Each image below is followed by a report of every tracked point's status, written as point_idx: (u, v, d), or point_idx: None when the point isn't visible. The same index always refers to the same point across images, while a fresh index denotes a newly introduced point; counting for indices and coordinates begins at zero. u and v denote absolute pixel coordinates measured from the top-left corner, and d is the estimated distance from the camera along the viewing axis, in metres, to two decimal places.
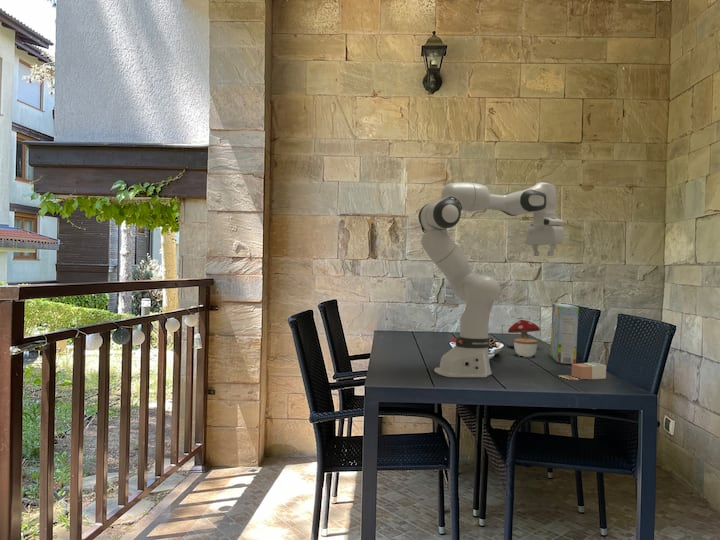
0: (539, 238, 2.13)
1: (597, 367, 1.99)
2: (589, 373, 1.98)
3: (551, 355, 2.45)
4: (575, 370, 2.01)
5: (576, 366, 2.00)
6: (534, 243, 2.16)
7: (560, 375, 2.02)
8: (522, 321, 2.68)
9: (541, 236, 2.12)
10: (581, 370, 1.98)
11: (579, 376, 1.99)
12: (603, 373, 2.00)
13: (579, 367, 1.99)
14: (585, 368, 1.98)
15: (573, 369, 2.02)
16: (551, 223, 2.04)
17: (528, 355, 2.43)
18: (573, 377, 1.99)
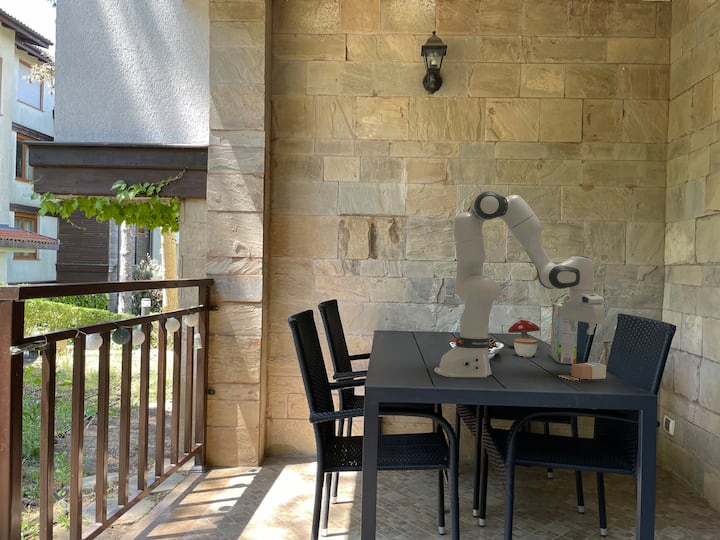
0: (576, 314, 2.01)
1: (597, 367, 1.99)
2: (589, 373, 1.98)
3: (551, 355, 2.45)
4: (575, 370, 2.01)
5: (576, 366, 2.00)
6: (571, 318, 2.04)
7: (560, 375, 2.02)
8: (522, 321, 2.68)
9: (579, 312, 1.99)
10: (581, 370, 1.98)
11: (579, 376, 1.99)
12: (603, 373, 2.00)
13: (579, 367, 1.99)
14: (585, 368, 1.98)
15: (573, 369, 2.02)
16: (591, 302, 1.92)
17: (528, 355, 2.43)
18: (573, 377, 1.99)
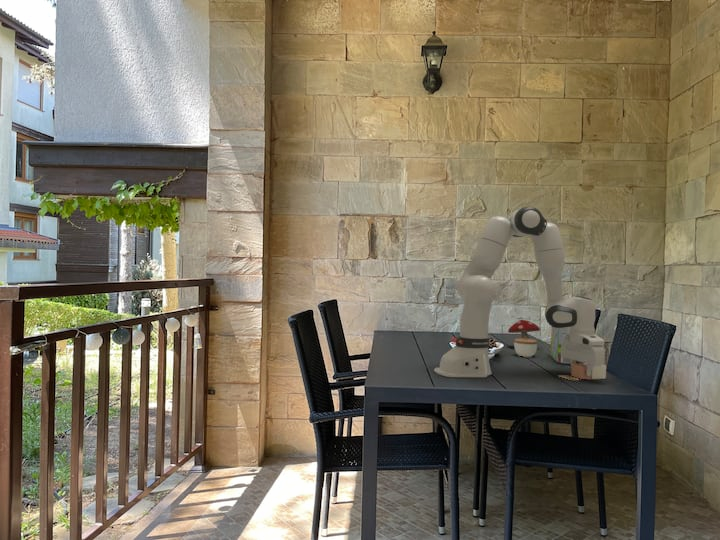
0: (576, 354, 2.01)
1: (597, 367, 1.99)
2: None
3: (551, 355, 2.45)
4: (575, 370, 2.01)
5: (576, 366, 2.00)
6: (571, 358, 2.04)
7: (560, 375, 2.02)
8: (522, 321, 2.68)
9: (579, 353, 1.99)
10: (581, 370, 1.98)
11: (579, 376, 1.99)
12: (603, 373, 2.00)
13: (579, 367, 1.99)
14: (585, 368, 1.98)
15: (573, 369, 2.02)
16: (591, 344, 1.92)
17: (528, 355, 2.43)
18: (573, 377, 1.99)
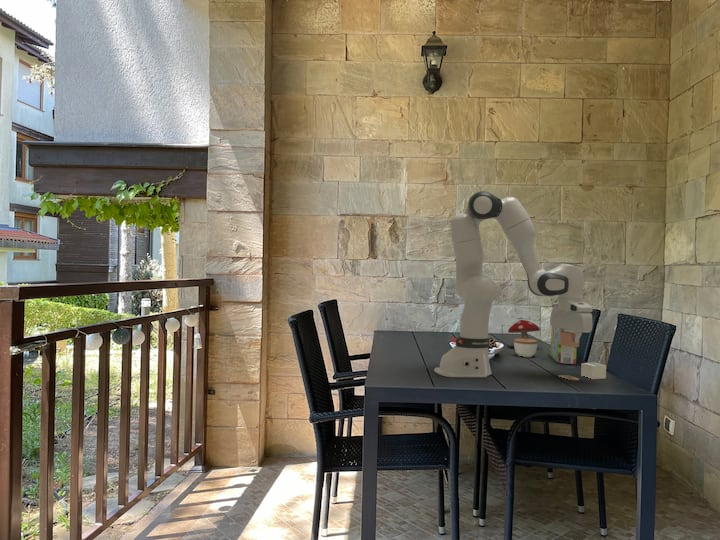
0: (564, 322, 1.99)
1: (597, 367, 1.99)
2: None
3: (551, 355, 2.45)
4: (564, 338, 1.99)
5: (564, 334, 1.99)
6: (559, 326, 2.02)
7: (560, 375, 2.02)
8: (522, 321, 2.68)
9: (568, 320, 1.97)
10: (569, 337, 1.96)
11: (567, 343, 1.97)
12: (603, 373, 2.00)
13: (567, 334, 1.97)
14: (573, 335, 1.96)
15: (561, 337, 2.00)
16: (579, 310, 1.90)
17: (528, 355, 2.43)
18: (573, 377, 1.99)
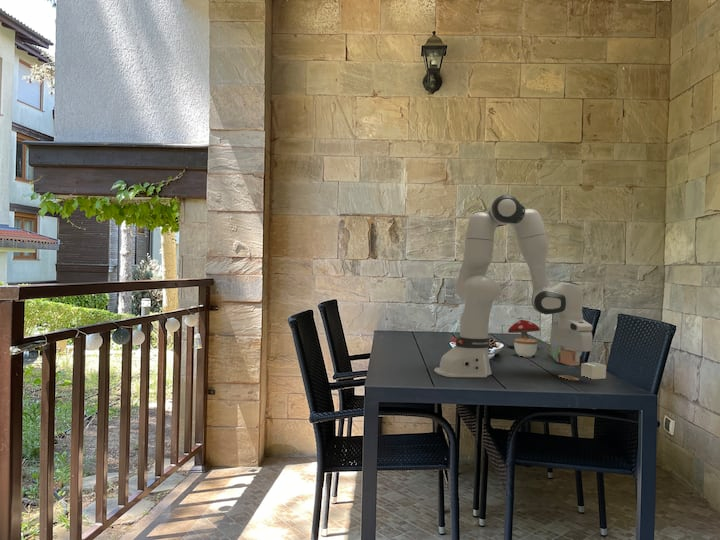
0: (564, 340, 1.99)
1: (597, 367, 1.99)
2: None
3: (551, 355, 2.45)
4: (564, 356, 1.99)
5: (565, 352, 1.99)
6: (559, 344, 2.02)
7: (560, 375, 2.02)
8: (522, 321, 2.68)
9: (568, 339, 1.97)
10: (569, 356, 1.96)
11: (568, 362, 1.97)
12: (603, 373, 2.00)
13: (568, 353, 1.97)
14: (574, 353, 1.96)
15: (562, 355, 2.00)
16: (579, 329, 1.90)
17: (528, 355, 2.43)
18: (573, 377, 1.99)
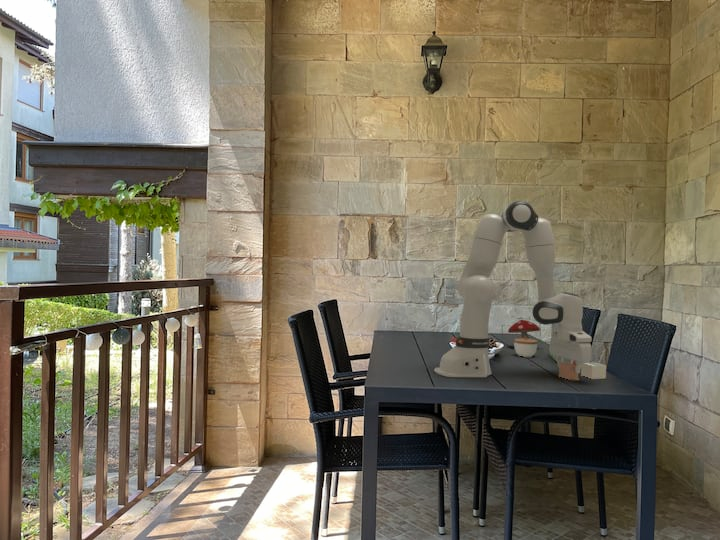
0: (563, 351, 1.99)
1: (597, 367, 1.99)
2: None
3: (551, 355, 2.45)
4: (563, 369, 1.99)
5: (563, 365, 1.99)
6: (558, 355, 2.02)
7: None
8: (522, 321, 2.68)
9: (567, 350, 1.97)
10: (568, 369, 1.96)
11: (566, 375, 1.97)
12: (603, 373, 2.00)
13: (566, 366, 1.97)
14: (572, 367, 1.96)
15: (560, 368, 2.00)
16: (578, 340, 1.90)
17: (528, 355, 2.43)
18: None
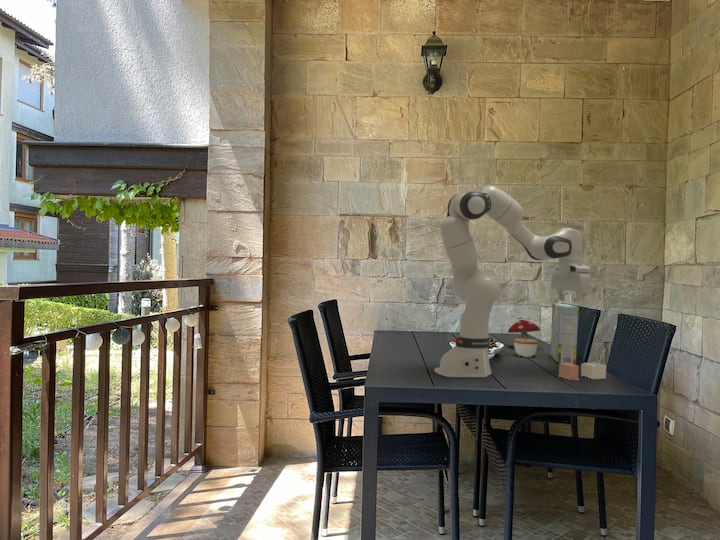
0: (564, 284, 2.11)
1: (597, 367, 1.99)
2: (576, 372, 1.97)
3: (551, 355, 2.45)
4: (563, 369, 1.99)
5: (563, 365, 1.99)
6: (559, 288, 2.14)
7: None
8: (522, 321, 2.68)
9: (567, 282, 2.09)
10: (568, 369, 1.96)
11: (566, 375, 1.97)
12: (603, 373, 2.00)
13: (566, 366, 1.97)
14: (572, 367, 1.96)
15: (560, 368, 2.00)
16: (578, 270, 2.02)
17: (528, 355, 2.43)
18: None
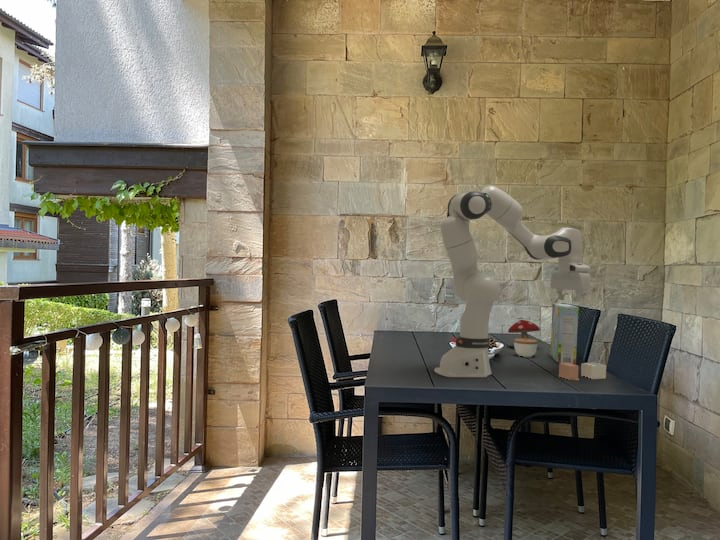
0: (564, 283, 2.12)
1: (597, 367, 1.99)
2: (576, 372, 1.97)
3: (551, 355, 2.45)
4: (563, 369, 1.99)
5: (563, 365, 1.99)
6: (559, 287, 2.15)
7: None
8: (522, 321, 2.68)
9: (567, 281, 2.10)
10: (568, 369, 1.96)
11: (566, 375, 1.97)
12: (603, 373, 2.00)
13: (566, 366, 1.97)
14: (572, 367, 1.96)
15: (560, 368, 2.00)
16: (577, 270, 2.02)
17: (528, 355, 2.43)
18: None
